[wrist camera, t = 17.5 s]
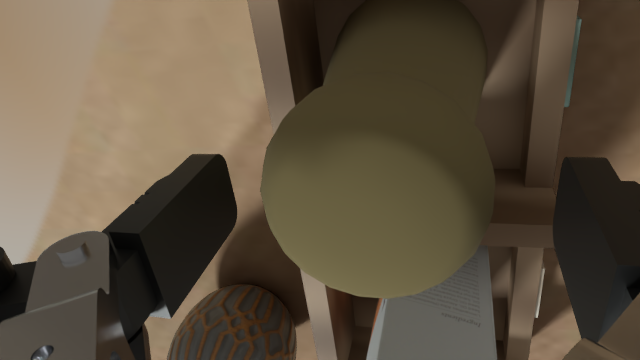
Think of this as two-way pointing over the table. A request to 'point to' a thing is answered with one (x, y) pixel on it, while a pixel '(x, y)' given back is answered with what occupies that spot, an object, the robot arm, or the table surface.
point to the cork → (386, 154)
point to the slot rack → (492, 121)
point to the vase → (236, 327)
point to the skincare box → (439, 319)
